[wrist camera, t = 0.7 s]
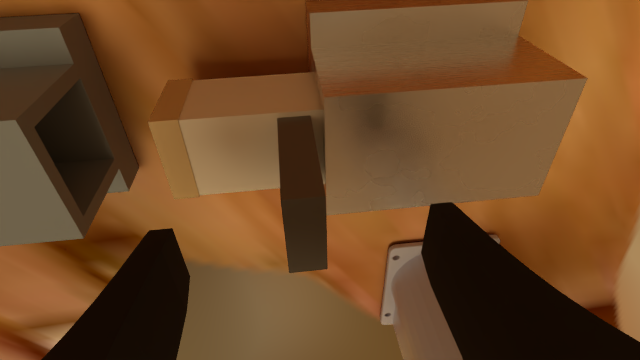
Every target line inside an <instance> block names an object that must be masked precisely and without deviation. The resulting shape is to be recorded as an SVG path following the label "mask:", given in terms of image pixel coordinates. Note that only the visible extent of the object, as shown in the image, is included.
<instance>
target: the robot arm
mask: <svg viewBox="0 0 640 360" xmlns="http://www.w3.org/2000/svg"><path fill="white" fill-rule="evenodd" d="M499 243H500V239H499V237H498V236H497V235H488V234H487V233H486V232H485V231H484V230H482V229H481V228H480V227H479V226H478V225H477V224H476V223H475V222H473V221H472V220H471V219H470V218H469V217H468V216H467V215H466V214H465V213H463V212H462V211H461V210H460V209H459V208H458V207H457V206H456V205H454V204H453V203H452V202H446V203H436V204H431V205H430V210H429V215H428V220H427V225H426V230H425V235H424V240H423V242H415V243H406V244H396V245H393V246H391V247H390V248H389V250H388V257H387V266H386V274H385V282H384V290H383V298H382V306H381V314H380V321H381V324H383V325H390V324H393V325H394V329H395V332H396V336H397V339H398V343H399V346H400V350H401V353H402V357H403V360H640V342H639V341H637V340H635V339H634V338H632V337H630V336H629V335H627V334H625V333H624V332H622V331H620V330H618V329H617V328H615V327H613V326H612V325H610V324H608V323H607V322H605V321H604V320H602V319H600V318H599V317H597V316H596V315H594V314H592V313H591V312H589V311H588V310H586V309H585V308H583V307H582V306H580V305H579V304H577V303H576V302H574V301H573V300H571V299H570V298H568V297H567V296H565V295H564V294H563V293H561V292H560V291H558V290H557V289H556V288H554V287H553V286H551V285H550V284H549V283H547V282H546V281H545V280H543V279H542V278H541V277H539V276H538V275H537V274H535V273H534V272H533V271H532V270H530V269H529V268H528V267H526V266H525V265H524V264H523V263H521V262H520V261H519V260H518V259H516V258H515V257H514V256H513V255H511V254H510V253H509V252H508V251H507V250H506V249H504V248H503V247H502V246H501V245H500V244H499ZM189 280H190V275H189V272H188V270H187V267H186V264H185V262H184V259H183V256H182V253H181V251H180V248H179V245H178V243H177V240H176V237H175V234H174V232H173V229H172V228H171V229H160V230H150V231H149V232H148V233H147V234H146V235H145V236H144V238H143V239H142V240H141V242H140V243H139V244H138V246H137V247H136V248H135V250H134V251H133V252H132V254H131V255H130V256H129V258H128V259H127V260H126V261H125V263H124V264H123V265H122V267H121V268H120V269H119V271H118V272H117V273H116V275H115V276H114V277H113V278H112V280H111V281H110V282H109V283H108V285H107V286H106V287H105V288H104V290H103V291H102V292H101V293H100V295H99V296H98V297H97V298H96V299H95V301H94V302H93V303H92V304H91V306H90V307H89V308H88V309H87V310H86V311H85V312H84V314H83V315H82V316H81V317H80V318H79V319H78V320H77V322H76V323H75V324H74V325H73V326H72V327H71V328H70V330H69V331H68V332H67V333H66V334H65V335H64V336H63V337H62V339H61V340H60V341H59V342H58V343H57V344H56V345H55V346H54V347H53V348H52V349H51V350H50V351H49V352H48V353H47V354H46V355H45V357H44V358H43V359H42V360H176V358H177V354H178V349H179V345H180V340H181V335H182V331H183V326H184V322H185V317H186V312H187V304H188V293H189V282H190V281H189Z"/></svg>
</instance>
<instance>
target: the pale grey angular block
mask: <svg viewBox="0 0 640 360" xmlns="http://www.w3.org/2000/svg"><path fill="white" fill-rule="evenodd" d="M148 124H149V127H150V130H151V133H152V136H153V139H154V142H155V145H156V148H157V150H158V153H159V156H160V159H161V162H162V165H163V168H164V171H165V174H166V177H167V180H168V183H169V186H170V189H171V191H172V194H173V197H174V199H183V198H194V197H200V195H208V194H219V193H231V192H242V191H253V190H264V189H276V188H280V195H281V207H282V215H283V224H284V232H285V241H286V249H287V258H288V267H289V273H294V272H303V271H313V270H322V269H327V228H326V195H325V189H324V153H323V112H322V102H321V98H320V94H319V90H318V86H317V82H316V78H315V74H314V72H307V73H293V74H278V75H263V76H249V77H234V78H220V79H205V80H193V79H181V80H168V82H167V84H166V86H165V88H164V90H163V92H162V94H161V96H160V98H159V100H158V102H157V104H156V106H155V108H154V110H153V112H152V114H151V116H150V119H149V121H148Z"/></svg>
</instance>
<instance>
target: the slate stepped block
mask: <svg viewBox="0 0 640 360" xmlns="http://www.w3.org/2000/svg"><path fill="white" fill-rule="evenodd" d="M138 169H139V167H138V164H137V161H136V159H135V156H134V154H133V151H132V149H131V146H130V143H129V141H128V138H127V136H126V133H125V131H124V128H123V125H122V123H121V120H120V118H119V115H118V113H117V110H116V107H115V105H114V102H113V100H112V97H111V95H110V92H109V90H108V87H107V84H106V82H105V79H104V77H103V74H102V72H101V69H100V66H99V64H98V61H97V59H96V56H95V54H94V51H93V48H92V46H91V43H90V41H89V38H88V36H87V33H86V30H85V28H84V25H83V23H82V20H81V18H80V15H79V13H73V14H55V15H37V16H19V17H1V18H0V246H7V245H18V244H29V243H39V242H50V241H60V240H71V239H81V238H84V237H85V235H86V233H87V231H88V229H89V227H90V225H91V223H92V221H93V219H94V217H95V215H96V213H97V211H98V209H99V207H100V205H101V203H102V201H103V200H104V198H105V196H106V194H107V193H113V192H124V191H129V189H130V187H131V185H132V183H133V180H134V178H135V176H136V174H137V171H138Z"/></svg>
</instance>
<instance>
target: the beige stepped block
mask: <svg viewBox="0 0 640 360" xmlns="http://www.w3.org/2000/svg"><path fill="white" fill-rule="evenodd" d="M527 3H528V0H309V1H306V20H307V42H308V64H309V72H314V74H315V78H316V82H317V86H318V90H319V94H320V98H321V102H322V112H323V153H324V189H325V195H326V215H335V214H345V213H356V212H367V211H377V210H388V209H398V208H409V207H419V206H430V205H431V204H436V203H446V202H452V203H462V202H472V201H483V200H493V199H504V198H514V197H525V196H536V195H539V192H540V190H541V187H542V185H543V183H544V180H545V178H546V176H547V173H548V171H549V169H550V166H551V164H552V161H553V159H554V157H555V154H556V152H557V150H558V147H559V145H560V142H561V140H562V138H563V135H564V133H565V131H566V128H567V126H568V123H569V121H570V119H571V116H572V114H573V112H574V109H575V107H576V104H577V102H578V100H579V97H580V95H581V93H582V90H583V88H584V85H585V83H586V81H587V78H586V77H585V76H583V75H582V74H580V73H578V72H577V71H575V70H573V69H572V68H570V67H569V66H567V65H565V64H564V63H562V62H561V61H559V60H557V59H556V58H554V57H552V56H551V55H549V54H548V53H546V52H544V51H543V50H541V49H539V48H538V47H536V46H535V45H533V44H531V43H530V42H528V41H527V40H525V39H523V38H522V37H520V36H518V34H519V31H520V27H521V24H522V20H523V17H524V13H525V10H526V6H527Z"/></svg>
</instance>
